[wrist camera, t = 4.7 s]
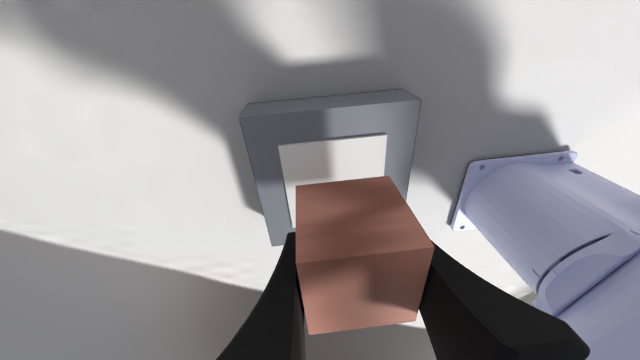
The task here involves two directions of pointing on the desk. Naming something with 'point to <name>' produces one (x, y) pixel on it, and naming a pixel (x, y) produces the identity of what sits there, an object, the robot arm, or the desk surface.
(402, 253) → the salmon brown cube
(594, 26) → the desk surface
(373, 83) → the desk surface
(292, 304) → the robot arm
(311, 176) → the grey square frame
